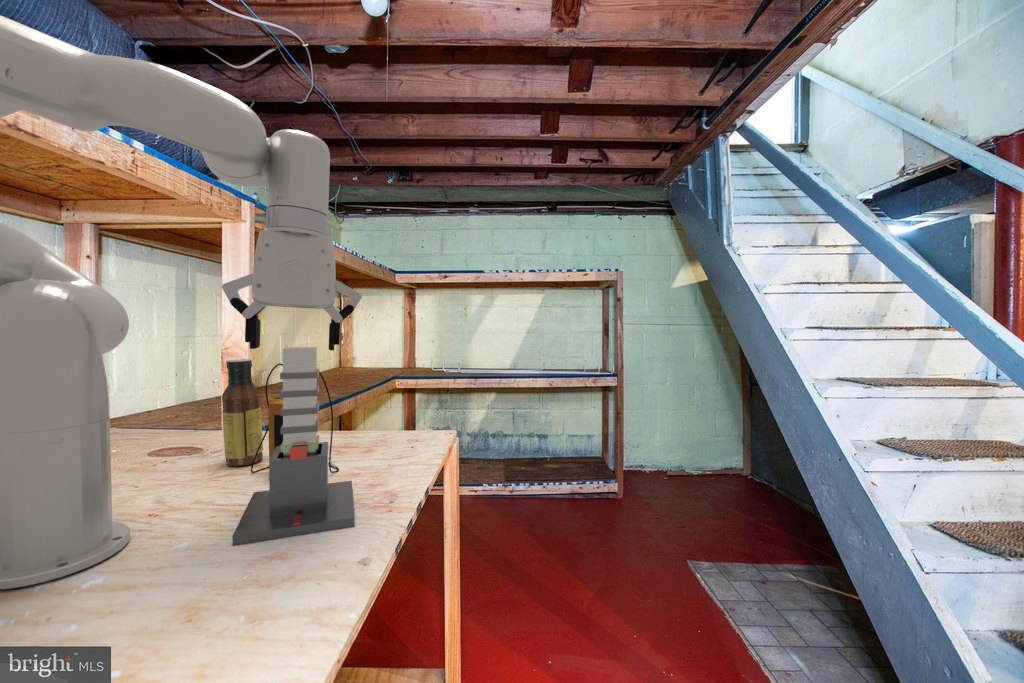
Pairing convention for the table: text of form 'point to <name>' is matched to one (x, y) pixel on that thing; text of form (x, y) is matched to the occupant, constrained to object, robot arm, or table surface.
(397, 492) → the table surface
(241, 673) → the table surface
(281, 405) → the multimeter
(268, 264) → the robot arm
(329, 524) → the stand base
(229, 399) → the sauce bottle
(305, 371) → the column
